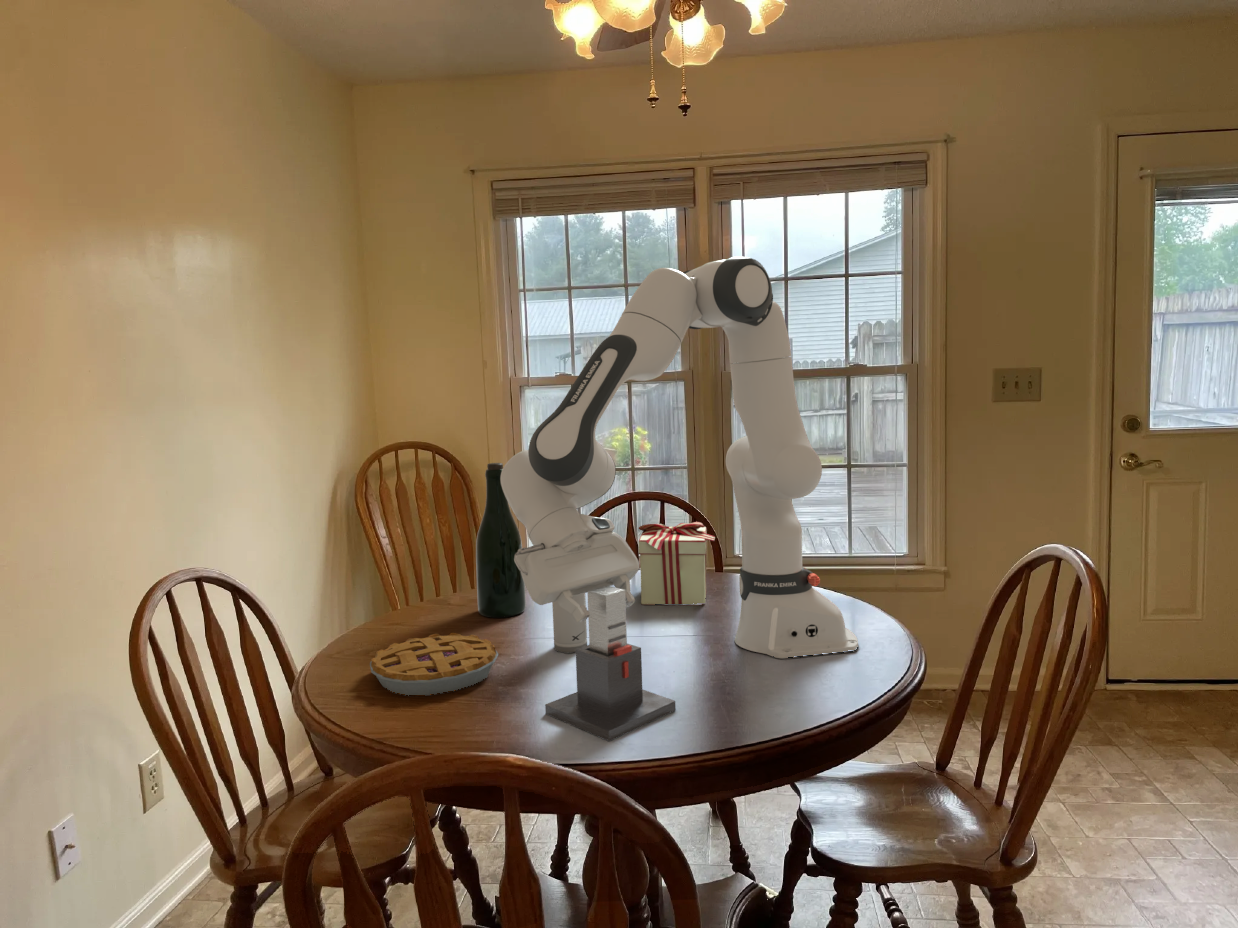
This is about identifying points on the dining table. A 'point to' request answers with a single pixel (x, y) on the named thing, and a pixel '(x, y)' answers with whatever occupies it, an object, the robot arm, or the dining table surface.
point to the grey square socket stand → (609, 695)
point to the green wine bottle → (498, 554)
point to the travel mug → (568, 628)
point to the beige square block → (607, 619)
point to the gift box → (673, 563)
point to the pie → (434, 664)
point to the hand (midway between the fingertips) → (607, 611)
